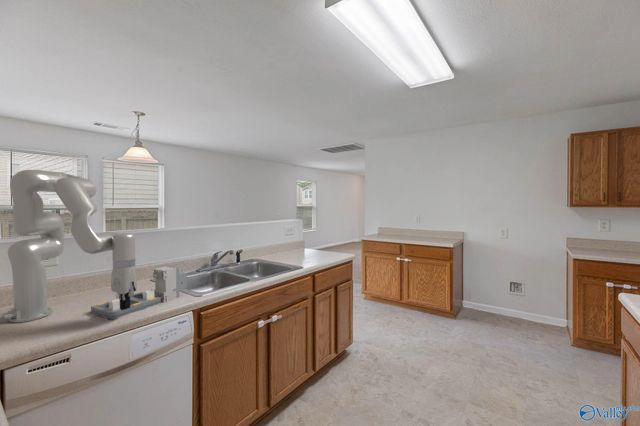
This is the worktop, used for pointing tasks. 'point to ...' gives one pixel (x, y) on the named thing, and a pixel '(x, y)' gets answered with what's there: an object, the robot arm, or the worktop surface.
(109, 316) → the switch bank
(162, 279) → the circuit breaker
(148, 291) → the tab
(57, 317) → the worktop surface
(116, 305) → the tab
